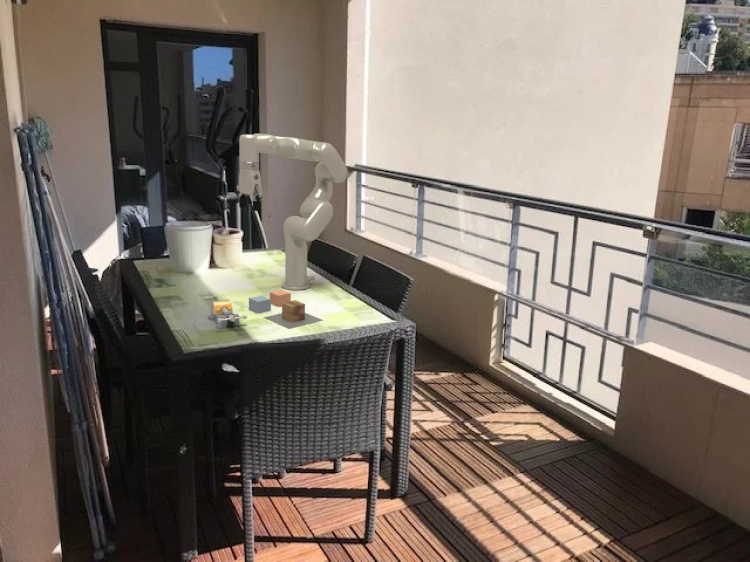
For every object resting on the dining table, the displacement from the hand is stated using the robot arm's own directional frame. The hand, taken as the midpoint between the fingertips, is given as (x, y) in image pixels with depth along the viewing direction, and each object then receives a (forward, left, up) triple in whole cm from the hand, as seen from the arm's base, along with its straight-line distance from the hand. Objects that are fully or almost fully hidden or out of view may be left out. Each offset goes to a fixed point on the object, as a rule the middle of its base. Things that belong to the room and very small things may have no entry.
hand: (249, 208), depth 252 cm
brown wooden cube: (+6, +38, -36) cm, 52 cm away
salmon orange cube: (-1, +20, -37) cm, 42 cm away
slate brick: (+10, +22, -37) cm, 44 cm away
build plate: (+6, +38, -37) cm, 53 cm away
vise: (+26, +24, -37) cm, 51 cm away
